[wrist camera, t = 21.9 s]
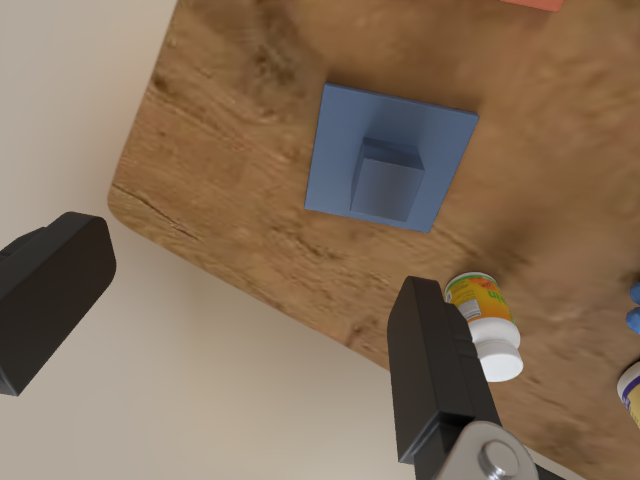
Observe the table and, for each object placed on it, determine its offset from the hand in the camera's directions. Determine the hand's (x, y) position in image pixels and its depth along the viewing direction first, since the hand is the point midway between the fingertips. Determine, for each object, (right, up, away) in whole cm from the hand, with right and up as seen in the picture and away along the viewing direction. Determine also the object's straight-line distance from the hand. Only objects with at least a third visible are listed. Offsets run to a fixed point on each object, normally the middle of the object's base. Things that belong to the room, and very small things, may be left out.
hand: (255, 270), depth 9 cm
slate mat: (+7, +8, +21) cm, 23 cm away
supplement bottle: (+18, -4, +28) cm, 34 cm away
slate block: (+7, +7, +20) cm, 22 cm away
